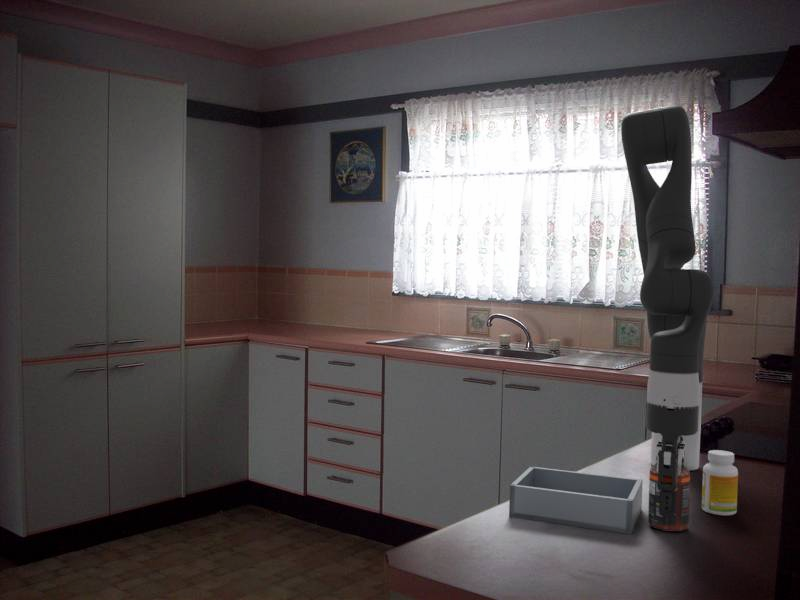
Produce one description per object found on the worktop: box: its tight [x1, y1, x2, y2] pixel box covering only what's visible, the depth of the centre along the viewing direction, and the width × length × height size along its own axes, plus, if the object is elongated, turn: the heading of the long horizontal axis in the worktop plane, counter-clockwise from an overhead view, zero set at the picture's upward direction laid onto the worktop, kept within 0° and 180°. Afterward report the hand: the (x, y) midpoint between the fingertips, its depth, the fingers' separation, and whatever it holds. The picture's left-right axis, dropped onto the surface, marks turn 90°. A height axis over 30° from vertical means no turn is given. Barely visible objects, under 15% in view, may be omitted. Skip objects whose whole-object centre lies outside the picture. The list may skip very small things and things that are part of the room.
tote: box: [508, 466, 644, 535], centre depth 131 cm, size 14×19×5 cm
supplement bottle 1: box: [647, 456, 691, 532], centre depth 125 cm, size 6×6×11 cm
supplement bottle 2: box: [701, 449, 739, 516], centre depth 134 cm, size 5×5×10 cm
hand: (668, 509), depth 125 cm, fingers closed on supplement bottle 1, 6 cm apart
